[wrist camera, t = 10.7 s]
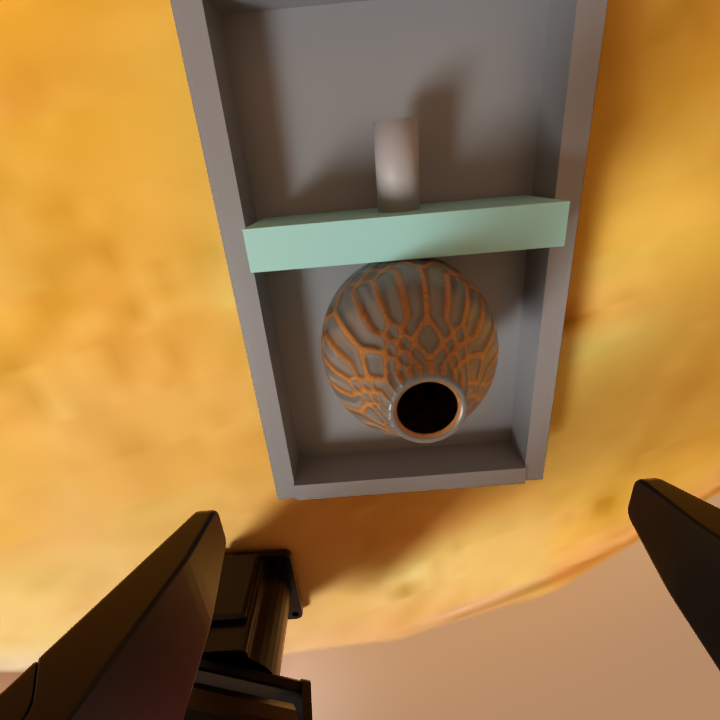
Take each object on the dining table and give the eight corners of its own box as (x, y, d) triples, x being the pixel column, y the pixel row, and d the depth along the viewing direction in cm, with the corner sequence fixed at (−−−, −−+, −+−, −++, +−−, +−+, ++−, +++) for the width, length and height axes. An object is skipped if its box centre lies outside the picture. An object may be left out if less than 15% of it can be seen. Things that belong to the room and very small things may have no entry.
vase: (478, 244, 18) (574, 299, 10) (458, 379, 21) (521, 502, 13) (326, 239, 18) (306, 291, 10) (326, 376, 21) (311, 500, 13)
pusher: (521, 231, 18) (564, 246, 14) (270, 252, 18) (250, 273, 15) (531, 113, 16) (583, 97, 13) (251, 139, 16) (222, 129, 13)
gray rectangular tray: (522, 446, 24) (568, 520, 19) (285, 464, 24) (268, 542, 19) (574, -49, 15) (691, -165, 10) (192, -12, 15) (110, -105, 10)
